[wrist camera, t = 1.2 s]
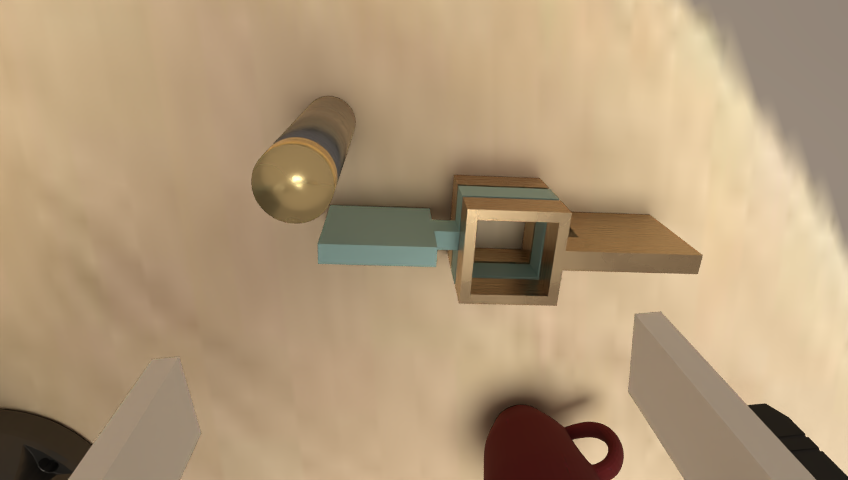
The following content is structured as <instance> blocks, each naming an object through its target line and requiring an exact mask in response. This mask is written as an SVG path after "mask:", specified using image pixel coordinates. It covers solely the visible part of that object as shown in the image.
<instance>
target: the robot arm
mask: <svg viewBox="0 0 848 480" xmlns="http://www.w3.org/2000/svg"><path fill="white" fill-rule="evenodd" d="M628 392H629V394H630V395H631V397H632V398H633V400H634V402H635V403H636V405H637V406H638V408H639V409H640V411H641V412H642V414H643V416H644V417H645V419H646V420H647V422H648V423H649V425H650V427H651V428H652V430H653V431H654V433H655V434H656V436H657V438H658V439H659V441H660V442H661V444H662V445H663V447H664V448H665V450H666V452H667V453H668V455H669V456H670V458H671V459H672V461H673V463H674V464H675V466H676V467H677V469H678V470H679V472H680V474H681V475H682V477H683V478H684V480H848V476H847V475H846V474H845V473H844V472H843V471H842V470H841V469H840V468H839V467H838V466H837V465H836V464H835V463H834V462H833V461H832V460H831V459H830V458H829V457H828V456H827V455H826V454H825V453H824V452H823V451H819V447H818V446H817V445H816V444H815V443H814V442H813V441H812V440H811V439H810V438H809V437H806V436H805V433H804V432H803V431H802V430H801V429H800V428H799V427H798V426H797V425H796V424H795V423H794V422H793V421H792V420H791V419H790V418H789V417H787V416H786V415H784V414H782V413H781V412H779V411H777V410H775V409H774V408H772V407H770V406H769V405H767V404H755V405H747V404H746V403H745V402H744V401H743V400H742V399H741V398H740V397H739V396H738V395H737V393H736V392H735V391H734V390H733V389H732V388H731V387H730V386H729V385H728V384H727V383H726V382H725V380H724V379H723V378H722V377H721V376H720V375H719V374H718V373H717V372H716V371H715V370H714V369H713V368H712V366H711V365H710V364H709V363H708V362H707V361H706V360H705V359H704V358H703V357H702V356H701V355H700V353H699V352H698V351H697V350H696V349H695V348H694V347H693V346H692V345H691V344H690V343H689V342H688V340H687V339H686V338H685V337H684V336H683V335H682V334H681V333H680V332H679V331H678V330H677V329H676V327H675V326H674V325H673V324H672V323H671V322H670V321H669V320H668V319H667V318H666V317H665V316H664V315H663V313H662V312H661V311H660V312H650V313H639V314H635V317H634V328H633V340H632V352H631V363H630V375H629V387H628ZM200 435H201V431H200V427H199V424H198V420H197V417H196V413H195V410H194V406H193V403H192V399H191V396H190V392H189V389H188V385H187V382H186V378H185V375H184V372H183V368H182V365H181V361H180V358H179V357H169V358H159V359H152V360H151V361H150V363H149V364H148V366H147V367H146V368H145V370H144V371H143V373H142V374H141V376H140V377H139V378H138V380H137V381H136V383H135V384H134V386H133V387H132V389H131V390H130V391H129V393H128V394H127V396H126V397H125V399H124V400H123V401H122V403H121V404H120V406H119V407H118V409H117V410H116V412H115V413H114V414H113V416H112V417H111V419H110V420H109V422H108V423H107V424H106V426H105V427H104V429H103V430H102V432H101V433H100V434H99V436H98V437H97V439H96V440H95V442H94V443H93V445H92V446H91V445H90V444H89V443H88V442H86V441H85V440H84V439H83V438H81V437H80V436H78V435H77V434H75V433H74V432H72V431H71V430H69V429H67V428H65V427H63V426H61V425H59V424H57V423H55V422H53V421H50V420H48V419H45V418H42V417H39V416H36V415H32V414H28V413H24V412H19V411H12V410H0V480H180V479H181V477H182V474H183V472H184V470H185V468H186V466H187V463H188V461H189V459H190V457H191V455H192V452H193V450H194V448H195V446H196V444H197V441H198V439H199V437H200Z"/></svg>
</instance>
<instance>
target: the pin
mask: <svg viewBox="0 0 848 480" xmlns="http://www.w3.org/2000/svg"><path fill="white" fill-rule="evenodd" d="M355 125H356V121H355V116H354V113H353V111H352V109H351V107H350V106H349V105H348V104H347V103H346V102H345V101H343V100H341V99H340V98H337V97H333V96H324V97H320V98H318V99H316V100H315V101H313V102H312V103H311V104H310V105H309V106H308V107H307V108H306V109H305V111H304V112H303V113H302V114H301V115H300V116H299V117H298V118H297V119H296V120H295V121H294V122H293V123H292V124H291V125H290V127H289V128H288V129H287V130H286V131H285V132H284V133H283V134H282V135H281V136H280V137H279V138H278V139H277V140H276V142H275V143H274V144H273V145H272V146H271V147H270V148H269V149H268V150H267V151H266V152H265V153H264V154H263V155H262V157H261V158H260V159H259V160H258V162H257V163H256V165H255V167H254V169H253V173H252V179H251V184H252V190H253V194H254V196H255V199H256V201H257V202H258V204H259V205H260V206H261V208H262V209H263V210H264V211H265V212H266V213H268V214H269V215H270V216H272V217H273V218H275V219H277V220H280V221H283V222H287V223H294V224H295V223H305V222H309V221H311V220H314V219H315V218H317V217H319V216H320V215H321V214H322V213H323V212H324V211H325V210H326V209H327V208H328V206H329V204H330V202H331V200H332V197H333V194H334V191H335V188H336V185H337V182H338V179H339V176H340V173H341V170H342V167H343V164H344V161H345V158H346V155H347V152H348V149H349V146H350V143H351V140H352V137H353V134H354V130H355Z"/></svg>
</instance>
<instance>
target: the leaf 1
mask: <svg viewBox="0 0 848 480" xmlns="http://www.w3.org/2000/svg"><path fill="white" fill-rule="evenodd" d="M463 197H478V198H505V199H533V200H559V198H558V197H557V196H556V195H555V194H554V193H553V192H552V191H551V190H550V189H533V188H507V187H480V186H458V195H457V207H456V219H455V220H432V218H431V213H430V208H401V207H372V206H343V205H330V208H329V211H328V214H327V217H326V220H325V223H324V226H323V229H322V232H321V235H320V238H319V241H318V264H346V265H383V266H420V267H436V261H437V250H453V256H452V268H451V271H452V275H453V279H454V284H455V281H456V270H457V258H458V246H459V235H460V223H461V211H462V200H463ZM546 227H547V222H536V225H535V232H534V239H533V247H532V254H531V261H530V264H504V263H473V271H472V278H494V279H533V280H539V274H540V267H541V261H542V254H543V247H544V240H545V234H546Z"/></svg>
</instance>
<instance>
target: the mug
mask: <svg viewBox="0 0 848 480" xmlns="http://www.w3.org/2000/svg"><path fill="white" fill-rule="evenodd" d="M584 437H593V438H598V439H600V440H602V441H604V442H605V443H606V444H607V446H608V454H607V456H606V457H605V459H604V460H602V461H601V462H599V463H597V464H594V465H592V464H590V463H589V462H588V461H587V460H586V458H585V457H584V456H583V455H582V453H581V452H580V451H579V449H578V448H577V446H576V445H575V444H574V442H573V441H572V440H573V439H577V438H584ZM623 459H624V453H623V448H622V444H621V442H620V440H619V438H618V436H617V435H616V434H615V433H614V432H613V431H612V430H611V429H610V428H609V427H607V426H605V425H604V424H601V423H596V422H582V423H577V424H574V425H570V426H567V427H563V426H562V425H560V424H559V423H558V422H557V421H555V420H554V419H553V418H551V417H550V416H548V415H546V414H545V413H543V412H541V411H539V410H538V409H536V408H534V407H531V406H528V405H515V406H512V407H509V408H507V409H505V410H504V411H503V412H501V413H500V414H499V416H498V417H497V418H496V420H495V422H494V424H493V426H492V428H491V430H490V432H489V435H488V437H487V440H486V444H485V450H484V480H611V479H612V478H614V477H615V476H616V475H617V474H618V473H619V471H620V469H621V467H622V464H623Z"/></svg>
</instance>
